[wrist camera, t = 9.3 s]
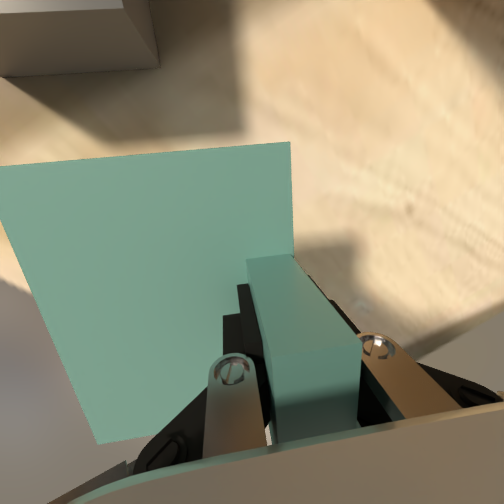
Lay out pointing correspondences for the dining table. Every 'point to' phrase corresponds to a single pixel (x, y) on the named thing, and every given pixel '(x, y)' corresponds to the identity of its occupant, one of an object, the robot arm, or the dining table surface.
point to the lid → (177, 284)
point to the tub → (75, 37)
